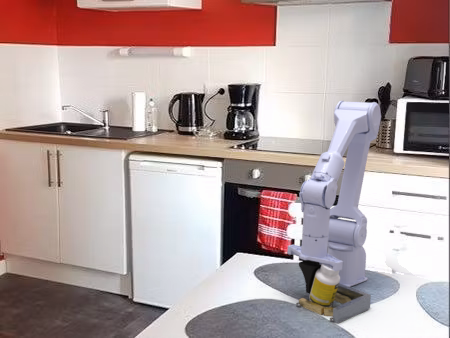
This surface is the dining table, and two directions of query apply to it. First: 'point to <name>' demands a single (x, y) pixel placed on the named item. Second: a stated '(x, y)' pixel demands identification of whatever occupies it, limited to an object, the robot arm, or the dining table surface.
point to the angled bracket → (350, 307)
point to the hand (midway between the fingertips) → (311, 292)
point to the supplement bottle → (324, 286)
